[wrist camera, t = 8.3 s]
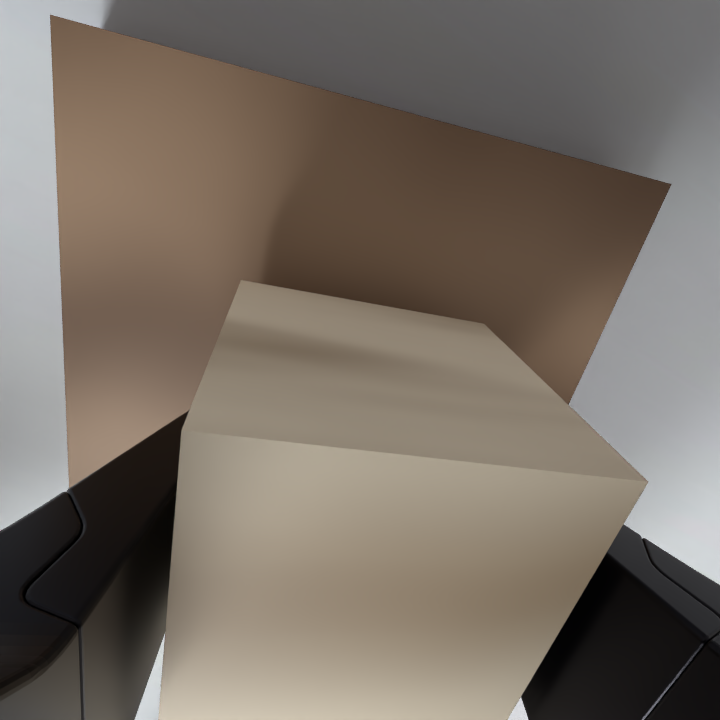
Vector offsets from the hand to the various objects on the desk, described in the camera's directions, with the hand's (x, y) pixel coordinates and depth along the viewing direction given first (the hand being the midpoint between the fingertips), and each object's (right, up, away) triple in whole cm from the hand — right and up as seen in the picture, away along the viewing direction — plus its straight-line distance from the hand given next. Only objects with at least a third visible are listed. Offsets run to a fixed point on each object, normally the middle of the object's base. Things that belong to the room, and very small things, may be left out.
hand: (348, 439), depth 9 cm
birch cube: (0, 0, +1) cm, 1 cm away
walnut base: (0, +2, +4) cm, 4 cm away
